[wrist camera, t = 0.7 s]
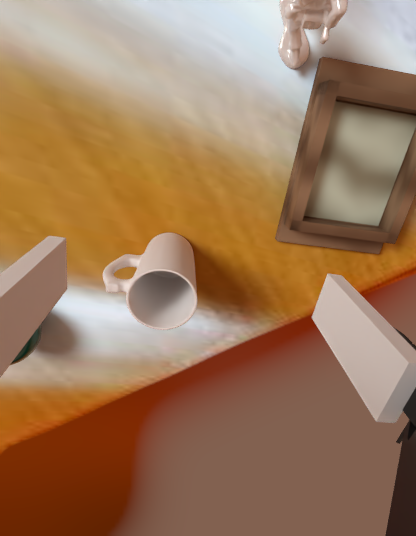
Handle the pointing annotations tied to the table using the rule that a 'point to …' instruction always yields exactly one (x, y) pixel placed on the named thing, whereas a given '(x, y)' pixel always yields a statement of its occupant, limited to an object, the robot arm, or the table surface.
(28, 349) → the sphere
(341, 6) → the figurine
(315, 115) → the brown picture frame
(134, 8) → the table surface
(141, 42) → the table surface
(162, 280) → the mug
